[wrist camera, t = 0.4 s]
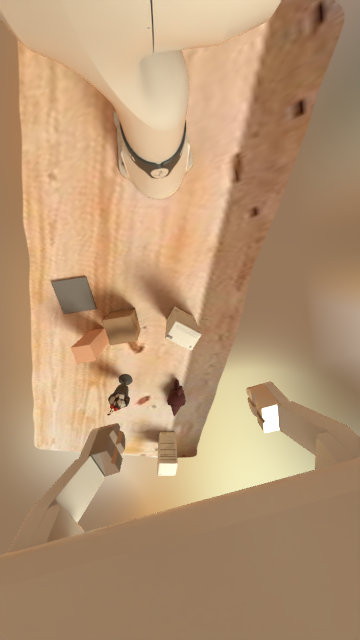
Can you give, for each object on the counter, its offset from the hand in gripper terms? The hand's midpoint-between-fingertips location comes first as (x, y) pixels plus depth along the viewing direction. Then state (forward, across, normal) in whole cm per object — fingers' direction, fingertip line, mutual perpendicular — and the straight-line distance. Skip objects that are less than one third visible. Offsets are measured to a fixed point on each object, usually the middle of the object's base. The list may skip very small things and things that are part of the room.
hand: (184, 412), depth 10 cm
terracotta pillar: (+46, +27, +9) cm, 54 cm away
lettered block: (+46, +16, +6) cm, 49 cm away
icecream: (+47, +8, +41) cm, 63 cm away
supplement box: (+47, +18, +64) cm, 82 cm away
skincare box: (+46, -1, +10) cm, 48 cm away
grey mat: (+46, +28, -6) cm, 54 cm away
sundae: (+47, +25, +29) cm, 60 cm away
